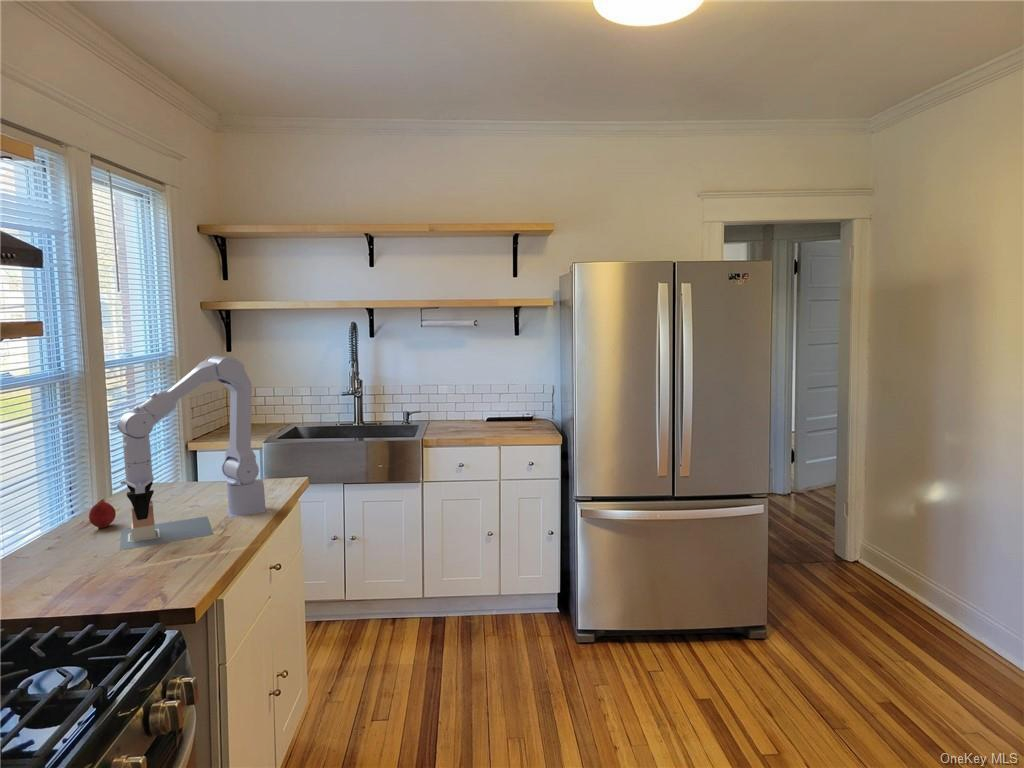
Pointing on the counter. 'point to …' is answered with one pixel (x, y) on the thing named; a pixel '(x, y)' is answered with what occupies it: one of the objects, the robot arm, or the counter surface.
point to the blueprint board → (164, 532)
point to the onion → (102, 514)
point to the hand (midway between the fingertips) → (142, 514)
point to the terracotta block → (144, 522)
